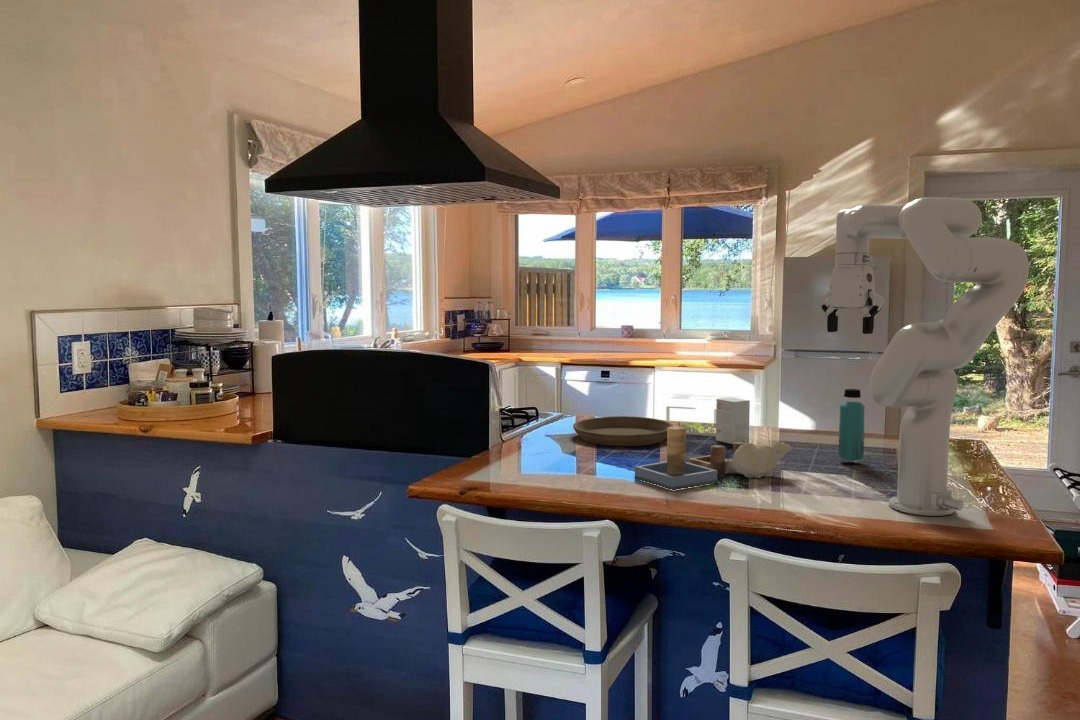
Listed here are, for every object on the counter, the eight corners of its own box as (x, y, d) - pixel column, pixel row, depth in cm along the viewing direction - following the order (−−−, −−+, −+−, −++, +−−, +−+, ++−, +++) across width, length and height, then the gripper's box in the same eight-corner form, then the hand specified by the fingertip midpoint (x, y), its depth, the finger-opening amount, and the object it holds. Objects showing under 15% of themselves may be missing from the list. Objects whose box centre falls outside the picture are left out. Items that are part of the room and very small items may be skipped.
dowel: (675, 480, 192) (676, 430, 191) (662, 476, 196) (663, 427, 194) (688, 477, 194) (689, 428, 193) (676, 474, 198) (677, 426, 197)
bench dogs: (750, 470, 206) (750, 443, 206) (717, 476, 200) (717, 448, 199) (739, 467, 209) (740, 441, 209) (707, 473, 203) (707, 446, 202)
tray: (717, 483, 193) (717, 470, 193) (673, 491, 185) (673, 477, 185) (677, 472, 205) (677, 459, 204) (634, 479, 197) (634, 466, 197)
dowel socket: (730, 467, 209) (730, 460, 209) (708, 471, 205) (709, 463, 205) (709, 462, 216) (709, 455, 216) (688, 465, 212) (688, 458, 212)
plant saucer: (618, 453, 229) (618, 437, 229) (553, 436, 254) (553, 422, 254) (694, 440, 247) (694, 425, 247) (626, 426, 272) (626, 413, 272)
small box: (749, 443, 242) (750, 400, 241) (733, 445, 239) (734, 401, 238) (730, 438, 249) (731, 397, 248) (714, 440, 246) (715, 398, 245)
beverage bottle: (865, 466, 211) (868, 390, 209) (839, 465, 212) (841, 390, 211) (861, 461, 217) (863, 387, 216) (835, 460, 219) (837, 387, 217)
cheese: (721, 487, 197) (768, 456, 189) (710, 462, 201) (756, 430, 194) (757, 497, 206) (803, 466, 199) (746, 472, 211) (791, 442, 203)
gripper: (894, 260, 188) (891, 333, 189) (830, 262, 202) (828, 330, 203) (875, 260, 183) (872, 335, 185) (811, 262, 198) (809, 331, 199)
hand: (849, 332), depth 194 cm, fingers open, 9 cm apart
